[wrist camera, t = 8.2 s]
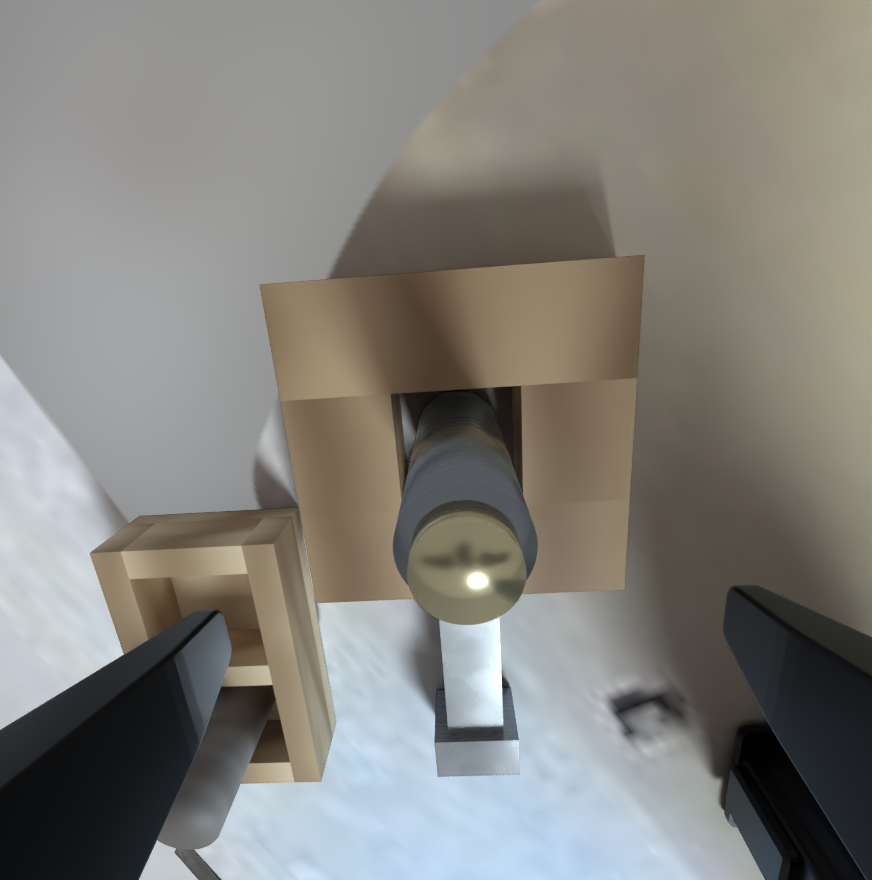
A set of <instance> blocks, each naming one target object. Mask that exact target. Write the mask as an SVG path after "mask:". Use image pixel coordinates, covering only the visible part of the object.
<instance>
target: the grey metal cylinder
mask: <svg viewBox="0 0 872 880" xmlns="http://www.w3.org/2000/svg"><path fill="white" fill-rule="evenodd" d="M537 551H538V541H537V534H536V530H535V527H534V524H533V521H532V518H531V516H530V513H529V510H528V507H527V504H526V501H525V498H524V496H523V493H522V490H521V487H520V484H519V481H518V478H517V476H516V473H515V470H514V467H513V464H512V461H511V459H510V456H509V453H508V450H507V447H506V444H505V441H504V439H503V436H502V433H501V430H500V427H499V424H498V421H497V419H496V416H495V413H494V412H493V410H492V408H491V407H490V406H489V404H488V403H487V402H486V401H484V400H483V399H482V398H480V397H478V396H477V395H474V394H472V393H468V392H463V391H454V392H448V393H445V394H442V395H440V396H438V397H436V398H435V399H433V400H432V401H431V402H430V403H429V404H428V405H427V406H426V408H425V409H424V411H423V412H422V414H421V417H420V420H419V424H418V428H417V433H416V437H415V442H414V446H413V451H412V455H411V460H410V464H409V469H408V473H407V478H406V483H405V487H404V492H403V496H402V501H401V505H400V510H399V514H398V519H397V523H396V528H395V532H394V537H393V555H394V561H395V564H396V567H397V569H398V571H399V573H400V575H401V577H402V578H403V580H404V581H405V583H406V584H407V585H408V586H409V589H410V591H411V593H412V595H413V597H414V599H415V600H416V602H417V603H418V604H419V605H420V606H421V607H422V608H423V609H424V610H425V611H426V612H427V613H429V614H430V615H432V616H433V617H435V618H437V619H439V620H442V621H445V622H447V623H452V624H457V625H476V624H481V623H486V622H489V621H492V620H494V619H496V618H498V617H500V616H501V615H503V614H505V613H506V612H507V611H508V610H510V609H511V608H512V607H513V606H514V605H515V603H516V602H517V601H518V599H519V598H520V596H521V594H522V592H523V590H524V587H525V583H526V580H527V579H528V578H529V576H530V574H531V572H532V570H533V568H534V565H535V562H536V558H537Z"/></svg>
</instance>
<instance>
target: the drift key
mask: <svg viewBox="0 0 872 880" xmlns="http://www.w3.org/2000/svg"><path fill="white" fill-rule="evenodd" d="M439 625H440V637H441V650H442V662H443V674H444V686H445V690H436V715H435V752H436V763H437V773H438V777H444V776H483V775H520V774H519V739H518V732H517V726H516V719H515V712H514V706H513V699H512V693H511V687H508V688H502V674H501V646H500V619H499V617H498V618H496V619H494V620H492V621H489V622H486V623H481V624H476V625H457V624H452V623H447V622H445V621H442V620H439Z"/></svg>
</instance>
